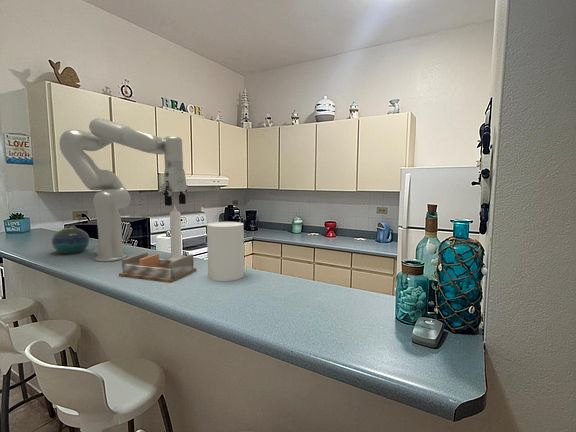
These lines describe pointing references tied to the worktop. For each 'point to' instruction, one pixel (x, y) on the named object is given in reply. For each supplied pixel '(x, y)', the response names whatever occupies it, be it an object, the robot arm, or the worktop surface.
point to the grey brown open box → (157, 268)
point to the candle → (175, 234)
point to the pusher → (150, 261)
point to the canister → (225, 250)
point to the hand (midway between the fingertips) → (175, 204)
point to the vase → (70, 240)
